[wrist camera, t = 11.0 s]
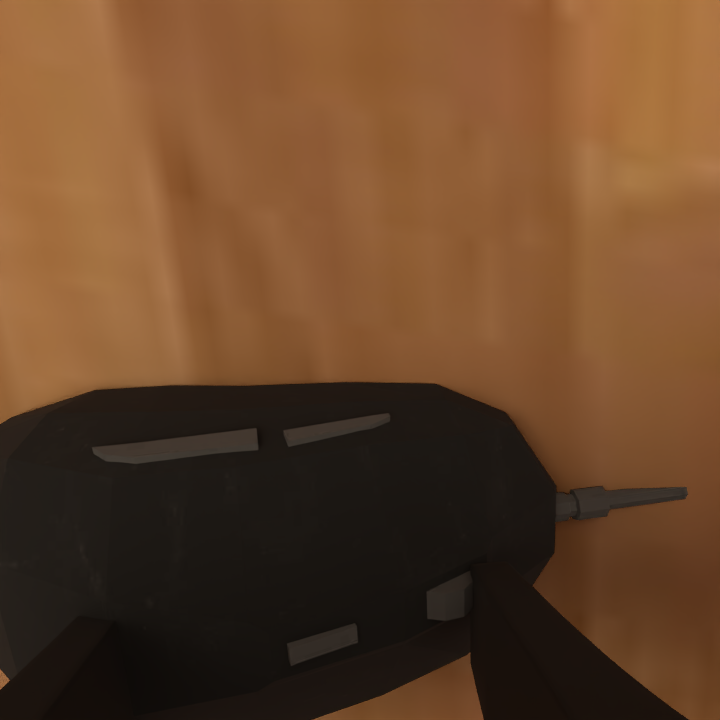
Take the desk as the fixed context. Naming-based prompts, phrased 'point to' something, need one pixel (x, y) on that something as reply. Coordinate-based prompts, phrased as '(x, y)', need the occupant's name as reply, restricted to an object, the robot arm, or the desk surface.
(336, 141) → the desk surface
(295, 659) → the gaming mouse
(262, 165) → the desk surface
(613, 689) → the robot arm
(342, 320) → the desk surface
